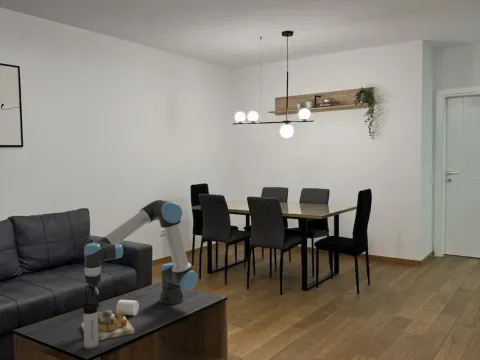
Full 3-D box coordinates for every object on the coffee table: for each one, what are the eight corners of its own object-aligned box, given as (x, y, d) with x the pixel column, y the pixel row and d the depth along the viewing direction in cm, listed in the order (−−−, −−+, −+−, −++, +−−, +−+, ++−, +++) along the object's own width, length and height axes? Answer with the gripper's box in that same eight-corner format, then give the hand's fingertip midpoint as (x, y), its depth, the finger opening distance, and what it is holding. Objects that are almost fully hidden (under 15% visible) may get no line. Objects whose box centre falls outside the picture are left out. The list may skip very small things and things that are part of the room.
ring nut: (96, 319, 233) (96, 310, 232) (129, 318, 234) (129, 309, 233) (87, 331, 217) (87, 321, 217) (123, 330, 218) (123, 320, 218)
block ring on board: (123, 318, 240) (123, 301, 240) (134, 332, 221) (134, 314, 221) (81, 326, 230) (81, 308, 229) (89, 342, 211) (88, 323, 210)
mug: (133, 317, 242) (132, 303, 242) (116, 316, 244) (116, 302, 244) (142, 310, 254) (141, 296, 253) (126, 308, 256) (125, 295, 255)
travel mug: (87, 343, 210) (85, 302, 208) (100, 343, 209) (99, 302, 208) (81, 349, 203) (79, 306, 202) (94, 349, 203) (93, 307, 202)
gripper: (80, 272, 222) (81, 318, 224) (90, 278, 213) (91, 326, 214) (95, 270, 227) (96, 314, 229) (105, 276, 217) (106, 322, 219)
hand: (93, 320), depth 222 cm, fingers closed
